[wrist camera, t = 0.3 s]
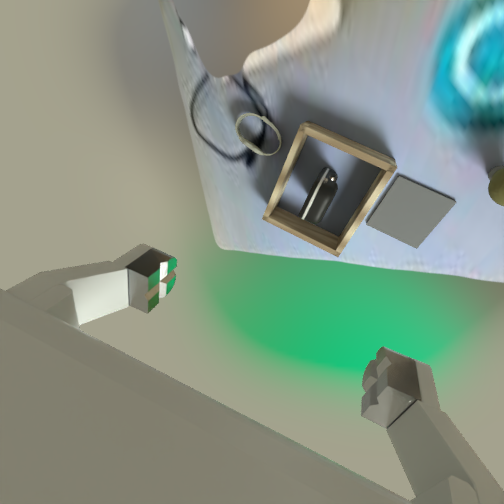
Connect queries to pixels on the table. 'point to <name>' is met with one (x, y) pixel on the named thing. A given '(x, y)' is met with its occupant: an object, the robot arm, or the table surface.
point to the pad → (410, 212)
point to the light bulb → (497, 184)
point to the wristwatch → (250, 144)
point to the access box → (336, 243)
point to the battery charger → (319, 196)
